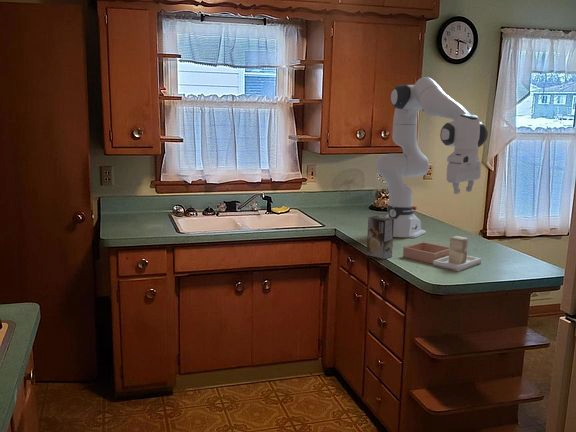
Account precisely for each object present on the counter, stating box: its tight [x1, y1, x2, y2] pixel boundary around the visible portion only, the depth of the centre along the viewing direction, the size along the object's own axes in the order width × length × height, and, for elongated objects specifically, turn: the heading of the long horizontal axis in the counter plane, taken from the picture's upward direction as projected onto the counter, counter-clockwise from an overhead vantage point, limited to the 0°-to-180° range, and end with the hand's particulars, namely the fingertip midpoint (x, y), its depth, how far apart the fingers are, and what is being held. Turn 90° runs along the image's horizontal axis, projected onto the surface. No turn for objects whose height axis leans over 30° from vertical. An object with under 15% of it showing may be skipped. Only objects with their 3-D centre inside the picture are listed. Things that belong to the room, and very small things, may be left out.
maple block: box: [448, 235, 469, 265], centre depth 235 cm, size 5×5×10 cm
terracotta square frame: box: [402, 241, 450, 264], centre depth 246 cm, size 15×15×4 cm
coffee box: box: [366, 215, 394, 260], centre depth 245 cm, size 9×6×16 cm
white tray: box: [432, 254, 482, 272], centre depth 236 cm, size 18×11×2 cm, turn 135°
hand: (462, 192), depth 230 cm, fingers open, 8 cm apart
